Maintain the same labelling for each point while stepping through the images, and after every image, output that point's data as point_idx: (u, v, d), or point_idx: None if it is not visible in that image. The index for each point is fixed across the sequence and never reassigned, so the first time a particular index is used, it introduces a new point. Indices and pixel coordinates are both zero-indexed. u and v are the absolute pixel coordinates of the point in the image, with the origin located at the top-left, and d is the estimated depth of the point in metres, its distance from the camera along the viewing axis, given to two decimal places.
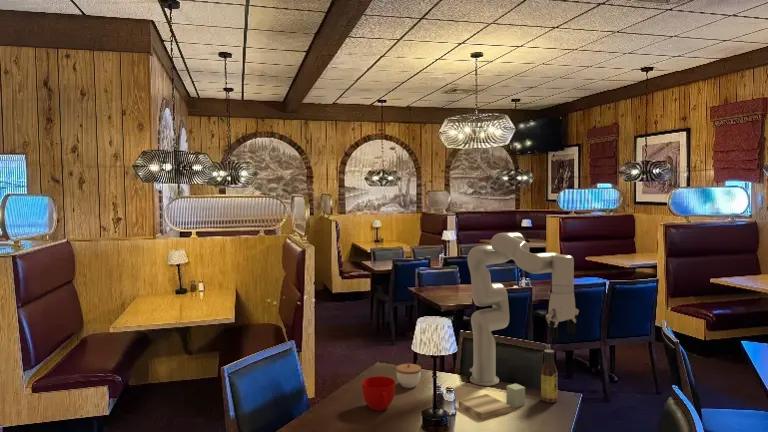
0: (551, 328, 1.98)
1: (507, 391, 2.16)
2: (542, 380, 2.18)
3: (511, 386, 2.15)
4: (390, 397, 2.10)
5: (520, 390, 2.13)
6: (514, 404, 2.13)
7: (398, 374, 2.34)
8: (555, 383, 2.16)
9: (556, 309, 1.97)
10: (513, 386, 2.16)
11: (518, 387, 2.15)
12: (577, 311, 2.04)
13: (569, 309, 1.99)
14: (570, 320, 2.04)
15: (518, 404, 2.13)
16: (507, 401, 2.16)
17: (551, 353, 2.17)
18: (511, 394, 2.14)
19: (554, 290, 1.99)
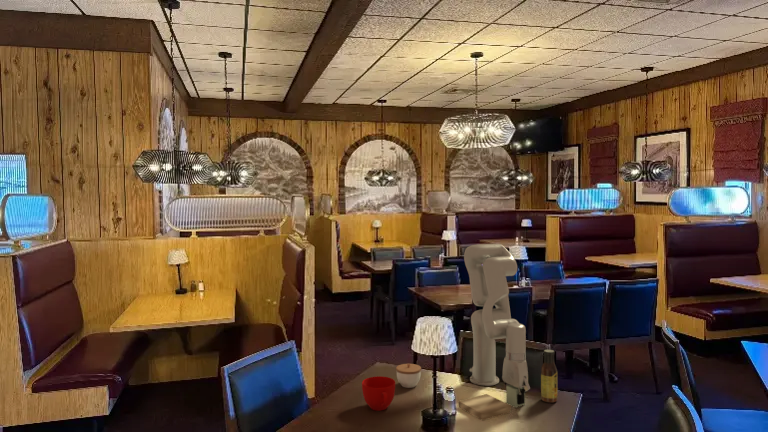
0: (522, 396, 2.12)
1: (507, 391, 2.16)
2: (542, 380, 2.18)
3: (511, 386, 2.15)
4: (390, 397, 2.10)
5: None
6: (514, 404, 2.13)
7: (398, 374, 2.34)
8: (555, 383, 2.16)
9: (527, 375, 2.11)
10: (513, 386, 2.16)
11: None
12: None
13: None
14: None
15: None
16: (507, 401, 2.16)
17: (551, 353, 2.17)
18: (511, 394, 2.14)
19: (520, 359, 2.11)
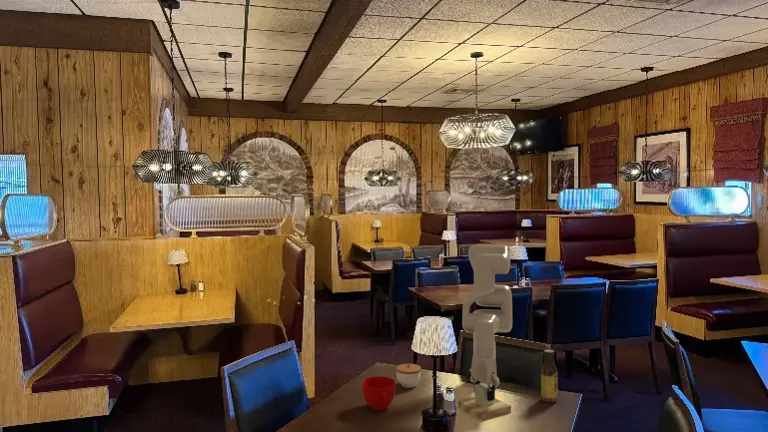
0: (492, 392, 2.06)
1: (475, 390, 2.11)
2: (542, 380, 2.18)
3: (479, 385, 2.10)
4: (390, 397, 2.10)
5: None
6: (482, 403, 2.07)
7: (398, 374, 2.34)
8: (555, 383, 2.16)
9: (495, 371, 2.06)
10: (481, 384, 2.11)
11: (487, 386, 2.09)
12: None
13: None
14: (477, 381, 2.13)
15: (486, 403, 2.08)
16: (475, 400, 2.11)
17: (551, 353, 2.17)
18: (479, 393, 2.09)
19: (489, 354, 2.06)
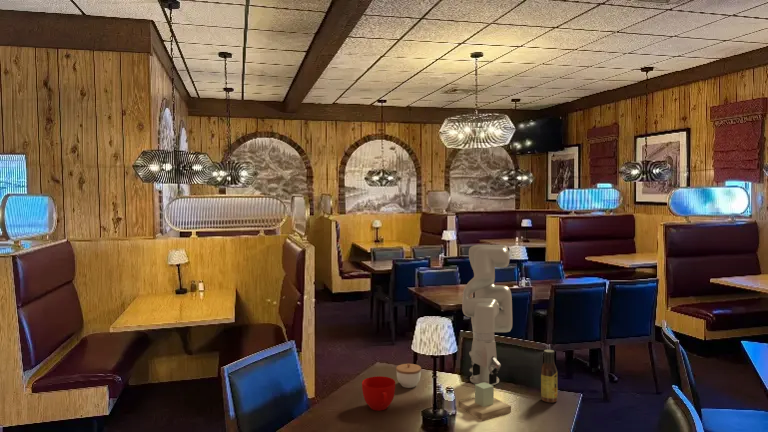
0: (494, 375, 2.05)
1: (475, 390, 2.11)
2: (542, 380, 2.18)
3: (479, 385, 2.10)
4: (390, 397, 2.10)
5: (489, 389, 2.08)
6: (482, 403, 2.08)
7: (398, 374, 2.34)
8: (555, 383, 2.16)
9: (495, 355, 2.06)
10: (481, 384, 2.11)
11: (487, 386, 2.10)
12: None
13: None
14: None
15: (486, 403, 2.08)
16: (475, 400, 2.11)
17: (551, 353, 2.17)
18: (479, 393, 2.09)
19: (489, 339, 2.06)
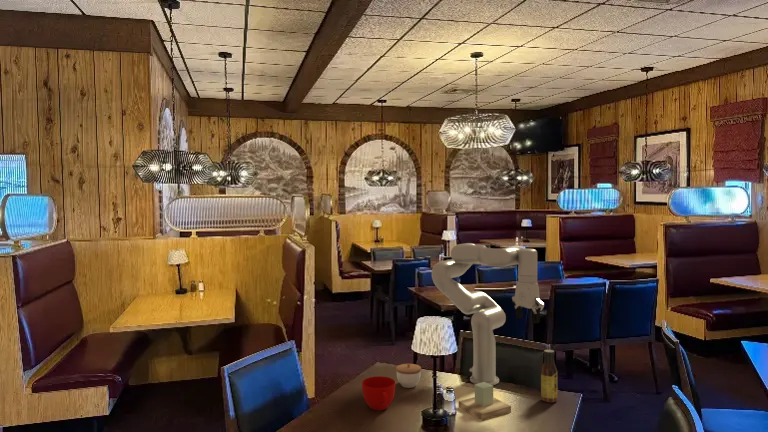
0: (537, 315, 2.20)
1: (475, 390, 2.11)
2: (542, 380, 2.18)
3: (479, 385, 2.10)
4: (390, 397, 2.10)
5: (488, 389, 2.08)
6: (482, 403, 2.08)
7: (398, 374, 2.34)
8: (555, 383, 2.16)
9: (538, 296, 2.21)
10: (481, 384, 2.11)
11: (486, 385, 2.10)
12: None
13: None
14: (518, 306, 2.29)
15: (486, 403, 2.08)
16: (475, 400, 2.11)
17: (551, 353, 2.17)
18: (479, 393, 2.09)
19: (532, 281, 2.21)
